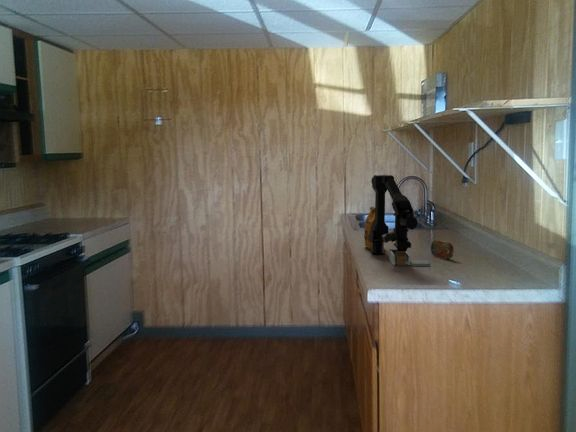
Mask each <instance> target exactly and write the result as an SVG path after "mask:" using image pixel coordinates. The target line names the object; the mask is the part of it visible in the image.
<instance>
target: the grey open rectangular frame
mask: <svg viewBox="0 0 576 432" xmlns="http://www.w3.org/2000/svg"><path fill="white" fill-rule="evenodd" d="M396 251H397V248H394V249H393V248H392V249H390V248H389V251H388V257H389V258H388V260H389V261H390V263H391V264H392V265H393V266H396ZM410 260H411V255H410V254H409V253H408V252H407V251H406V264H407V266H410V265H411V264H410Z"/></svg>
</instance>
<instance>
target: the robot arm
mask: <svg viewBox="0 0 576 432" xmlns="http://www.w3.org/2000/svg"><path fill="white" fill-rule="evenodd" d="M371 185H372V186H371V188H372V189H373V191H374V193H375V197H374V200H375V201H374V205H375V206H374V207H375V222H374V224H373V225H372V227H371V232H370V234H369V236H368V241H369V242H372V250H370V254H371V255H386V253H385V252H384V250H383V242H384V244H387V243H389V242H391V243H393V246H394V247H395V249H397V251H405V252H407V251H408V249H410V248H411V249H412V242H411V241H409V238H408V232H409V230H414V229H416V228H417V227H418V224H419V223H418V219H417V218H416V217H415V212H414V211H415V210H414V208H413V206H412V203H411V202H410V200H409V198H408V197H407V196H406V195H404V194H402V191H401V190H400V188H399V186H398V184H397V182H396V180H395V176H394V175H392V174H375V175H373V176H372V177H371ZM386 192H388V194H389V196H390V198H391V200H392V202H391V206H392V210H393V211H394V213H393V216H394V228H393V231H390V232H389V225H387V223H386V222H385V221H386V219H385V218H386V217H385V216H386Z"/></svg>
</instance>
